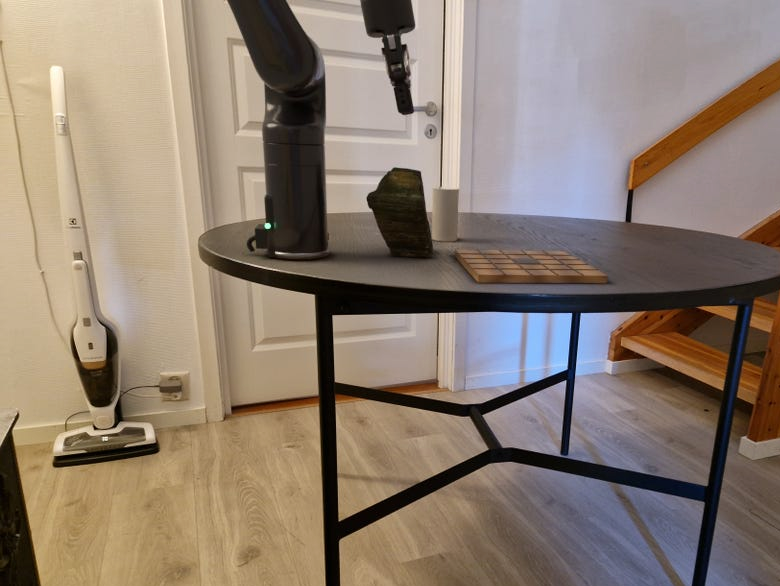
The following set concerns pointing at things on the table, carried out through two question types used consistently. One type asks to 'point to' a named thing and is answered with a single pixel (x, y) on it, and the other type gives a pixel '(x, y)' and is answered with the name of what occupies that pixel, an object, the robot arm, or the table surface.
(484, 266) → the board
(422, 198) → the rock
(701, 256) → the table surface
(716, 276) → the table surface
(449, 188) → the white tin can
